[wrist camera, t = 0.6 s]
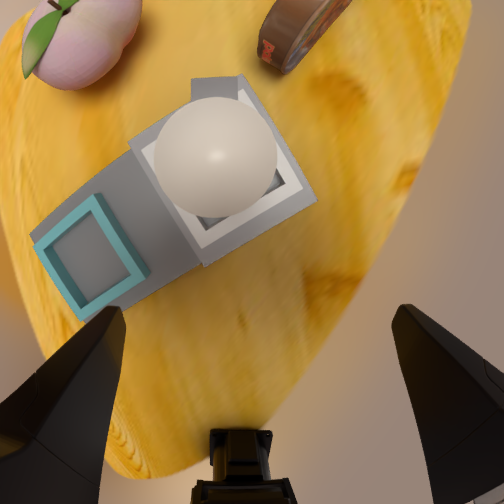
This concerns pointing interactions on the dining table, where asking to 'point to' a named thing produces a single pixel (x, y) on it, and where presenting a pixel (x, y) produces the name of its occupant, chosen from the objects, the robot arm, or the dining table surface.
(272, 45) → the tin
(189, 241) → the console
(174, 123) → the white rounded cylinder
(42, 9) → the decorative fruit
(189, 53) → the dining table surface
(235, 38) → the dining table surface
